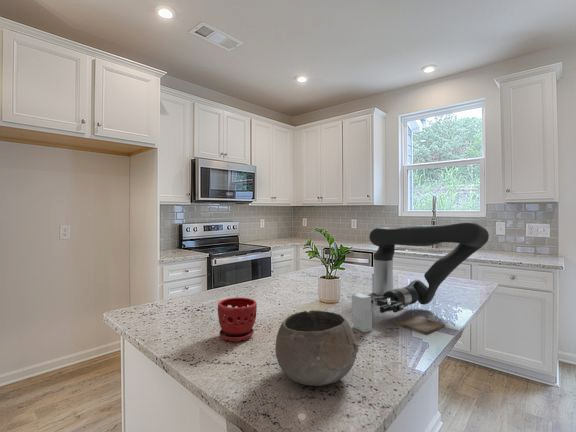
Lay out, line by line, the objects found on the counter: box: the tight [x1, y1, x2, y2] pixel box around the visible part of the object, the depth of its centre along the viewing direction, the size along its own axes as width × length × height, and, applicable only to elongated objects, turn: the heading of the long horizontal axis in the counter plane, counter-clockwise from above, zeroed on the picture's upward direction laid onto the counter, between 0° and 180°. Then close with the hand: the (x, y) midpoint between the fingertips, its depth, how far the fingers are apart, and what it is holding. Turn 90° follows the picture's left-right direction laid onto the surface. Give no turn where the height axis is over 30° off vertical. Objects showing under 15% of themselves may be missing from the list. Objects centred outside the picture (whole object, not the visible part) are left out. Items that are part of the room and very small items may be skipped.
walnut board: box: [395, 315, 446, 335], centre depth 116 cm, size 12×12×1 cm
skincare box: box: [351, 292, 373, 333], centre depth 113 cm, size 6×4×12 cm
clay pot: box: [274, 309, 359, 387], centre depth 82 cm, size 21×21×15 cm
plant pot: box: [217, 297, 258, 342], centre depth 109 cm, size 13×13×12 cm
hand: (370, 307), depth 116 cm, fingers open, 8 cm apart
